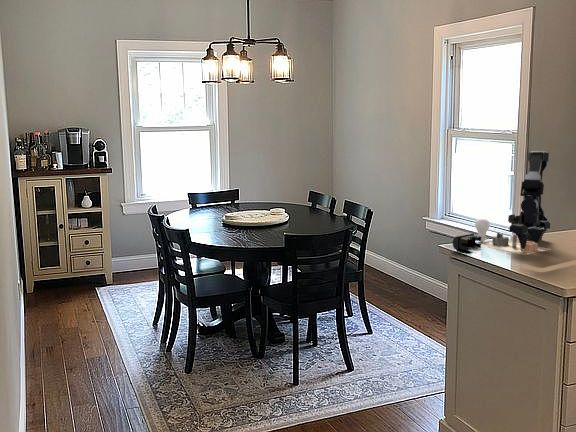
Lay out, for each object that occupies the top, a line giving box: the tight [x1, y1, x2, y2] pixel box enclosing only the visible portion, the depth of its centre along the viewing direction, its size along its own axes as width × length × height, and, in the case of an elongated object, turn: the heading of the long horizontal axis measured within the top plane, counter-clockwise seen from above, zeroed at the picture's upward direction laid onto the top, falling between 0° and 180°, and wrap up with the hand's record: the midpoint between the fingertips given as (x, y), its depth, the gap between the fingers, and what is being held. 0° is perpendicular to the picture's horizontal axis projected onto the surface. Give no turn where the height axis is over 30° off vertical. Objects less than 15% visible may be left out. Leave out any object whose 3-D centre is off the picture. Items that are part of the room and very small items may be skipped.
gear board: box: [480, 232, 552, 256], centre depth 265 cm, size 17×24×7 cm
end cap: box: [452, 232, 482, 255], centre depth 265 cm, size 10×7×7 cm
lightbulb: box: [474, 217, 491, 243], centre depth 281 cm, size 6×6×11 cm
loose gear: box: [520, 240, 539, 252], centre depth 259 cm, size 6×6×3 cm
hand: (528, 247), depth 259 cm, fingers open, 7 cm apart
